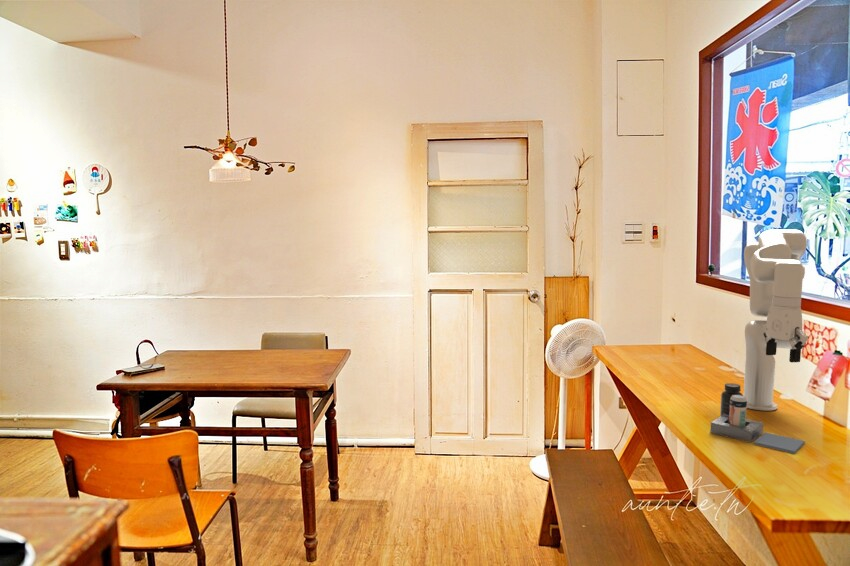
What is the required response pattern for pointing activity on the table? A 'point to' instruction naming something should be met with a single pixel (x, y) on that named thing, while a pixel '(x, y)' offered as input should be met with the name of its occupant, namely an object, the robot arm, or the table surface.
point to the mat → (779, 442)
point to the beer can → (738, 410)
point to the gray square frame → (736, 429)
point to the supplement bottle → (728, 397)
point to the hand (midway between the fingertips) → (782, 358)
